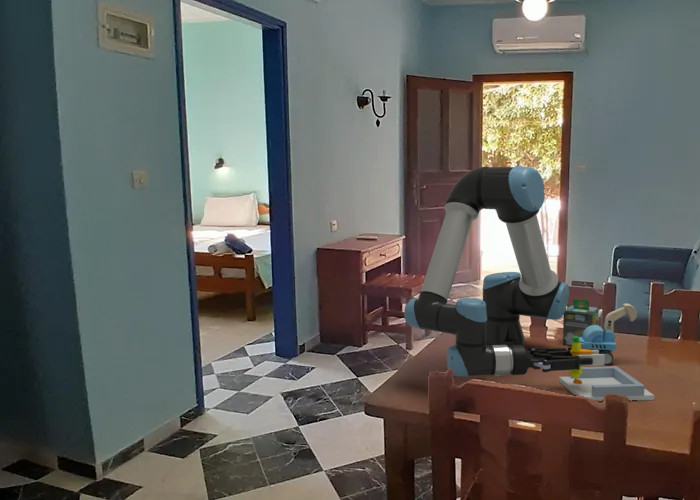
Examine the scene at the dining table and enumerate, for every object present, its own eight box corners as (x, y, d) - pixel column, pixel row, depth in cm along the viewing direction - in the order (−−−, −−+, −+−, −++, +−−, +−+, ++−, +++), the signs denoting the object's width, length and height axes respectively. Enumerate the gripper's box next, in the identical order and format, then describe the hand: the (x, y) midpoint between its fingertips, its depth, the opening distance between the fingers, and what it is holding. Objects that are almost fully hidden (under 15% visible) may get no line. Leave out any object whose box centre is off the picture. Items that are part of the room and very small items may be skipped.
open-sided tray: (581, 402, 154) (582, 387, 153) (559, 381, 169) (559, 367, 168) (653, 399, 154) (654, 385, 154) (625, 379, 169) (625, 365, 169)
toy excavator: (637, 367, 179) (640, 308, 177) (576, 364, 182) (578, 306, 180) (630, 358, 187) (633, 301, 185) (571, 355, 191) (573, 299, 188)
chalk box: (598, 342, 204) (600, 297, 202) (591, 349, 196) (593, 302, 194) (569, 338, 209) (570, 294, 207) (561, 345, 202) (563, 299, 200)
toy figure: (590, 381, 161) (592, 335, 160) (593, 386, 158) (595, 339, 156) (563, 379, 163) (564, 334, 161) (565, 384, 159) (567, 338, 157)
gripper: (500, 364, 167) (587, 362, 168) (518, 385, 151) (614, 382, 152) (500, 336, 166) (588, 334, 167) (518, 355, 150) (615, 352, 151)
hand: (600, 357), depth 159 cm, fingers closed on toy figure, 3 cm apart
